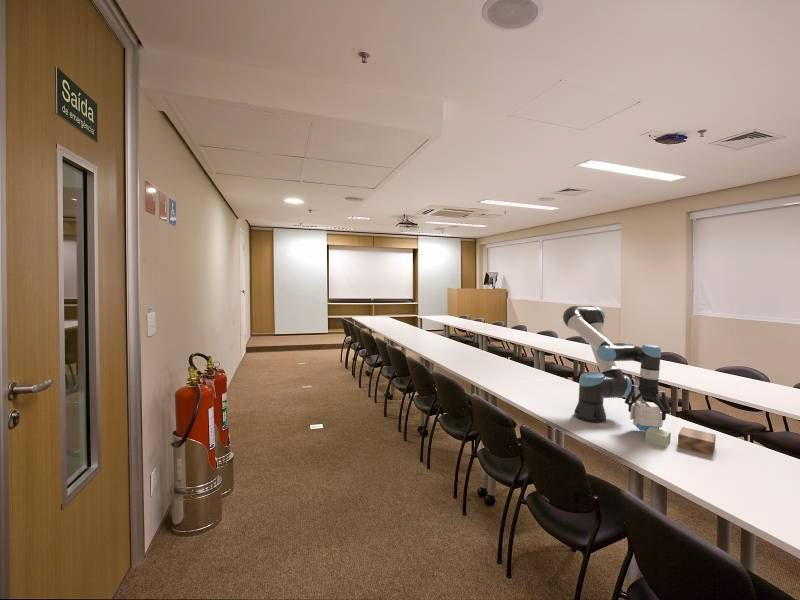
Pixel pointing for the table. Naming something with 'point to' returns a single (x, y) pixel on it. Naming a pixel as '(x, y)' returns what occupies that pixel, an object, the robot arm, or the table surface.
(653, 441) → the sage block
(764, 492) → the table surface
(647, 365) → the robot arm
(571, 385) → the table surface
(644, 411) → the ink box
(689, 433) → the walnut block
